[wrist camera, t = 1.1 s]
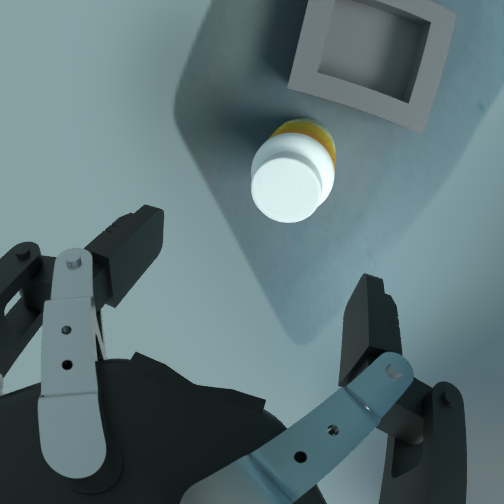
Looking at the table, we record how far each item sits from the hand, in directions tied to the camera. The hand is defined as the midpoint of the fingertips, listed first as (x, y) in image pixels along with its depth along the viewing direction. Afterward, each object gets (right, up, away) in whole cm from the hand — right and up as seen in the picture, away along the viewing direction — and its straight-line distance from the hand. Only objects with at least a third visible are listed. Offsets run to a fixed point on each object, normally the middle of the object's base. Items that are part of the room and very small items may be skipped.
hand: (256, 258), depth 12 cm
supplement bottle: (+4, +9, +13) cm, 17 cm away
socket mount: (+9, +16, +7) cm, 19 cm away
